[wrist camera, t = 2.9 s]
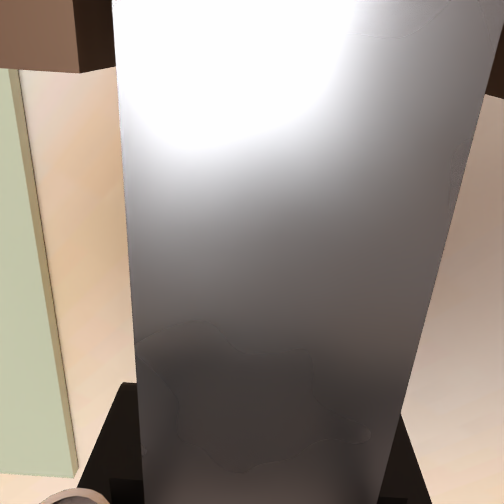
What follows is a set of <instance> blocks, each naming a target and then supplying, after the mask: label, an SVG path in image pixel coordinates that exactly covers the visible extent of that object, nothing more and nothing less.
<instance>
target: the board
mask: <svg viewBox="0 0 504 504" xmlns="http://www.w3.org/2000/svg"><path fill="white" fill-rule="evenodd" d="M77 470H78V463H77V456H76V449H75V443H74V436H73V430H72V423H71V417H70V410H69V404H68V397H67V390H66V384H65V377H64V371H63V364H62V358H61V351H60V344H59V338H58V331H57V325H56V318H55V312H54V305H53V298H52V292H51V285H50V279H49V272H48V266H47V259H46V252H45V246H44V239H43V233H42V226H41V220H40V213H39V206H38V200H37V193H36V187H35V180H34V174H33V167H32V160H31V154H30V147H29V141H28V134H27V128H26V121H25V114H24V108H23V101H22V95H21V88H20V82H19V75H18V69H4V68H0V473H3V474H18V475H32V476H47V477H61V478H74V477H75V474H76V472H77Z"/></svg>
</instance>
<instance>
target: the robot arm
mask: <svg viewBox="0 0 504 504" xmlns="http://www.w3.org/2000/svg"><path fill="white" fill-rule="evenodd" d="M39 504H145V499H144V484H143V469H142V453H141V438H140V423H139V408H138V393H137V383H127V382H123V383H122V384H121V386H120V388H119V389H118V392H117V394H116V396H115V399H114V401H113V403H112V406H111V408H110V411H109V413H108V415H107V418H106V420H105V422H104V425H103V427H102V429H101V432H100V434H99V436H98V439H97V441H96V444H95V446H94V448H93V451H92V453H91V455H90V458H89V460H88V462H87V465H86V467H85V469H84V472H83V474H82V477H81V479H80V481H79V484H78V486H77V488H74V489H68V490H63V491H61V492H59V493H56V494H54V495H51V496H50V497H48V498H47V499H45V500H44V501H42V502H41V503H39ZM377 504H432V502H431V499H430V496H429V493H428V491H427V488H426V485H425V482H424V479H423V476H422V473H421V471H420V468H419V465H418V462H417V459H416V456H415V453H414V450H413V448H412V445H411V442H410V439H409V436H408V433H407V430H406V428H405V425H404V422H403V419H402V416H401V413H400V417H399V420H398V424H397V428H396V432H395V435H394V439H393V443H392V447H391V451H390V454H389V458H388V462H387V466H386V470H385V473H384V477H383V481H382V485H381V488H380V492H379V496H378V500H377Z"/></svg>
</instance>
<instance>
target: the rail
mask: <svg viewBox="0 0 504 504" xmlns="http://www.w3.org/2000/svg"><path fill="white" fill-rule="evenodd" d="M112 12H113V27H114V42H115V57H116V73H117V88H118V103H119V118H120V133H121V149H122V164H123V179H124V194H125V210H126V225H127V240H128V255H129V271H130V286H131V301H132V316H133V332H134V347H135V362H136V377H137V393H138V408H139V423H140V438H141V453H142V469H143V484H144V499H145V504H377V500H378V496H379V492H380V488H381V485H382V481H383V477H384V473H385V470H386V466H387V462H388V458H389V454H390V451H391V447H392V443H393V439H394V435H395V432H396V428H397V424H398V420H399V417H400V413H401V409H402V405H403V401H404V398H405V394H406V390H407V386H408V382H409V379H410V375H411V371H412V367H413V364H414V360H415V356H416V352H417V348H418V345H419V341H420V337H421V333H422V329H423V326H424V322H425V318H426V314H427V310H428V307H429V303H430V299H431V295H432V292H433V288H434V284H435V280H436V276H437V273H438V269H439V265H440V261H441V257H442V254H443V250H444V246H445V242H446V239H447V235H448V231H449V227H450V223H451V220H452V216H453V212H454V208H455V204H456V201H457V197H458V193H459V189H460V185H461V182H462V178H463V174H464V170H465V167H466V163H467V159H468V155H469V151H470V148H471V144H472V140H473V136H474V132H475V129H476V125H477V121H478V117H479V114H480V110H481V106H482V102H483V98H484V95H485V91H486V87H487V83H488V79H489V76H490V72H491V68H492V64H493V61H494V57H495V53H496V49H497V45H498V42H499V38H500V34H501V30H502V26H503V23H504V0H112Z"/></svg>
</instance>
